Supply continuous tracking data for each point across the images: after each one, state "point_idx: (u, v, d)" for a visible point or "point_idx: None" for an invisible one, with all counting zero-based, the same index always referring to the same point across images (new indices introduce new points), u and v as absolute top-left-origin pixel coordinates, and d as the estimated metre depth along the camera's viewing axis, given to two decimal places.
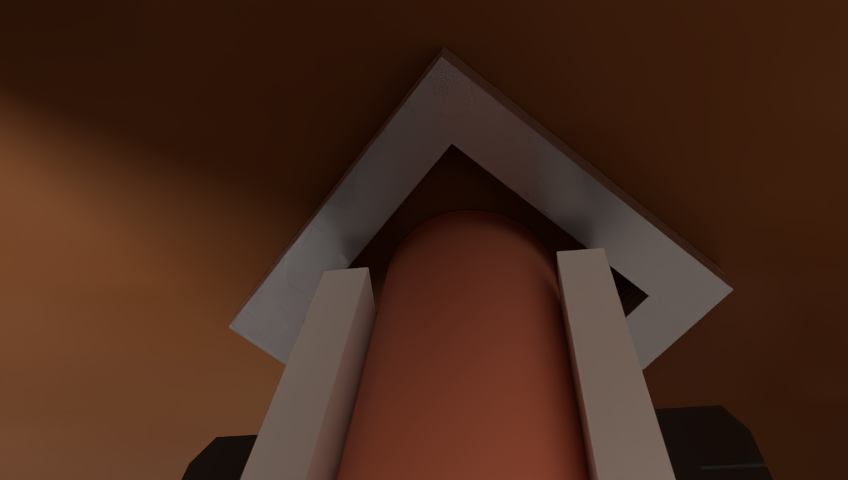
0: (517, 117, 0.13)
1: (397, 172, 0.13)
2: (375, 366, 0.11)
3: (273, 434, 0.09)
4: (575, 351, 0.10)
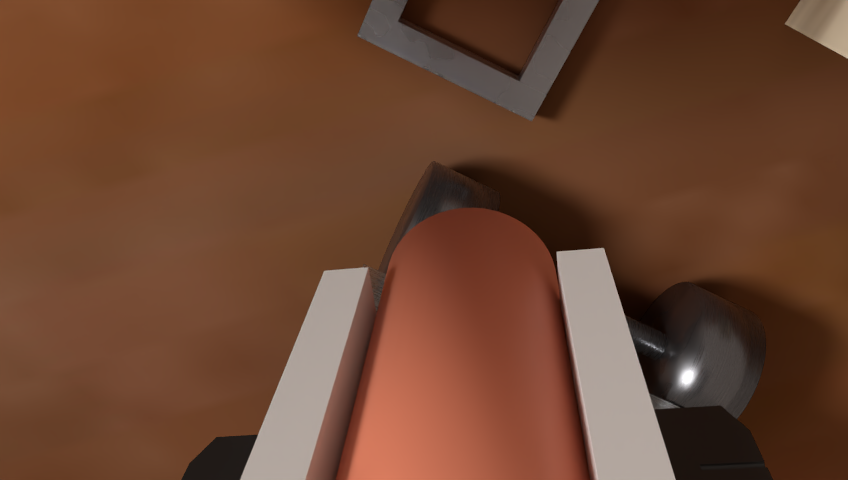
0: None
1: None
2: (375, 364, 0.11)
3: (273, 434, 0.09)
4: (575, 351, 0.10)
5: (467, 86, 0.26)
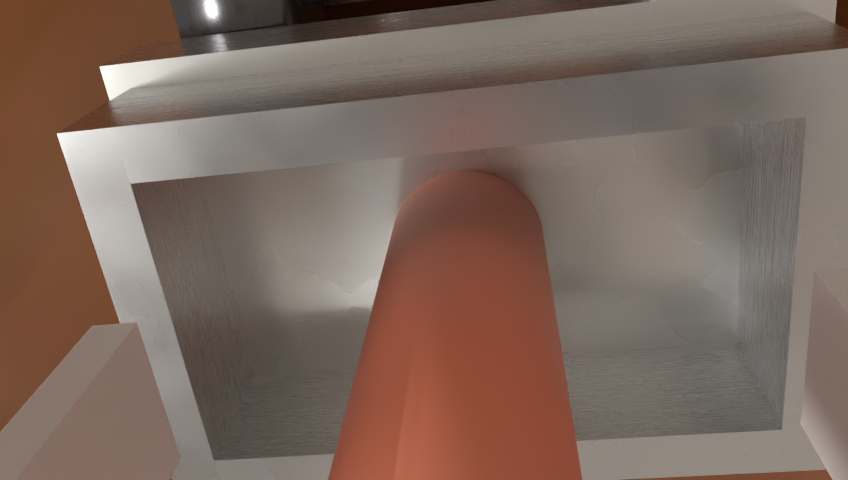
0: None
1: None
2: (385, 292, 0.13)
3: None
4: None
5: None
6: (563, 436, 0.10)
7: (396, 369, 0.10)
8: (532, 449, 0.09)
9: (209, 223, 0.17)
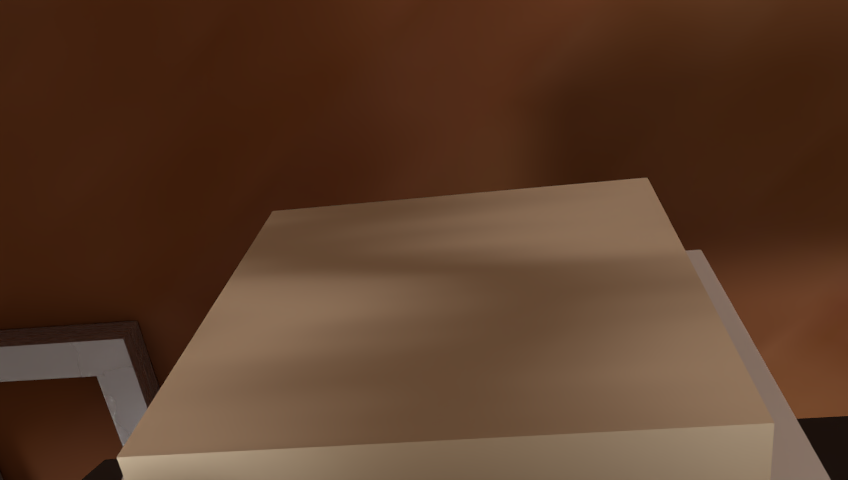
0: None
1: None
2: None
3: None
4: None
5: None
6: None
7: None
8: None
9: None
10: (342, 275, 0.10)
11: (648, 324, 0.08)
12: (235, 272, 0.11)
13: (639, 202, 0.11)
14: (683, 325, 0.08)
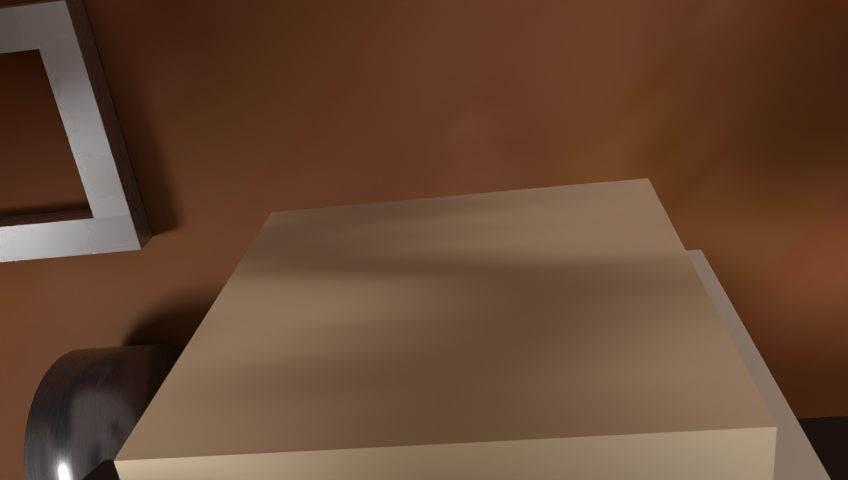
0: None
1: None
2: None
3: None
4: None
5: (52, 254, 0.21)
6: None
7: None
8: None
9: None
10: (341, 277, 0.10)
11: (650, 326, 0.08)
12: (234, 273, 0.11)
13: (639, 203, 0.11)
14: (684, 327, 0.08)
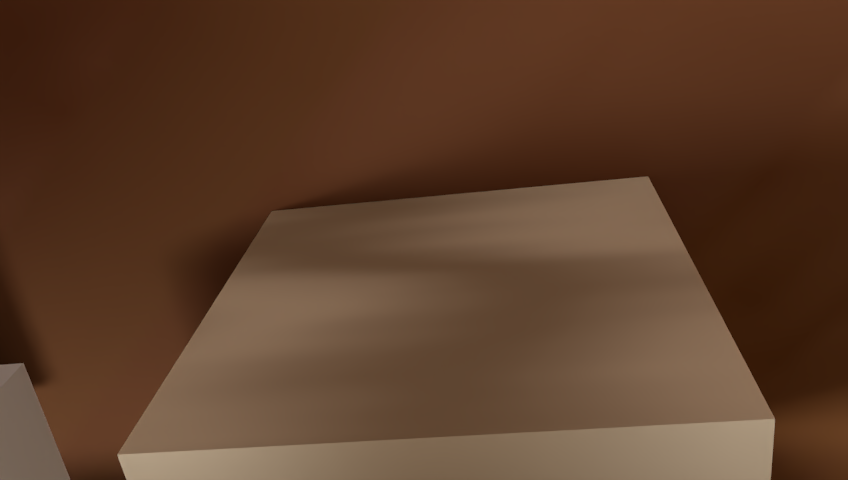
0: None
1: None
2: None
3: None
4: None
5: None
6: None
7: None
8: None
9: None
10: (342, 273, 0.10)
11: (649, 321, 0.08)
12: (235, 270, 0.11)
13: (638, 199, 0.11)
14: (683, 322, 0.08)
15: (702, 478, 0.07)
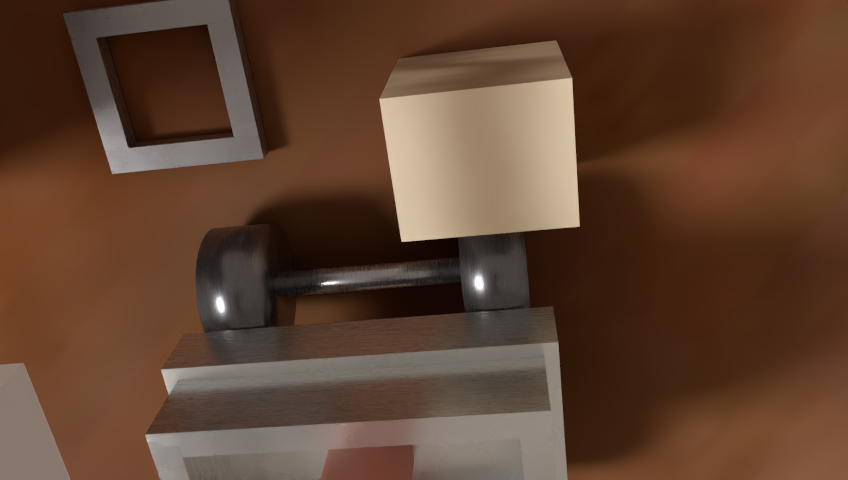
0: (101, 9, 0.29)
1: (93, 63, 0.30)
2: None
3: None
4: None
5: (204, 162, 0.32)
6: None
7: None
8: None
9: None
10: (435, 68, 0.28)
11: (543, 68, 0.26)
12: (393, 71, 0.28)
13: (550, 45, 0.29)
14: (554, 67, 0.26)
15: (553, 100, 0.24)
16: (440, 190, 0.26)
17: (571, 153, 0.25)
